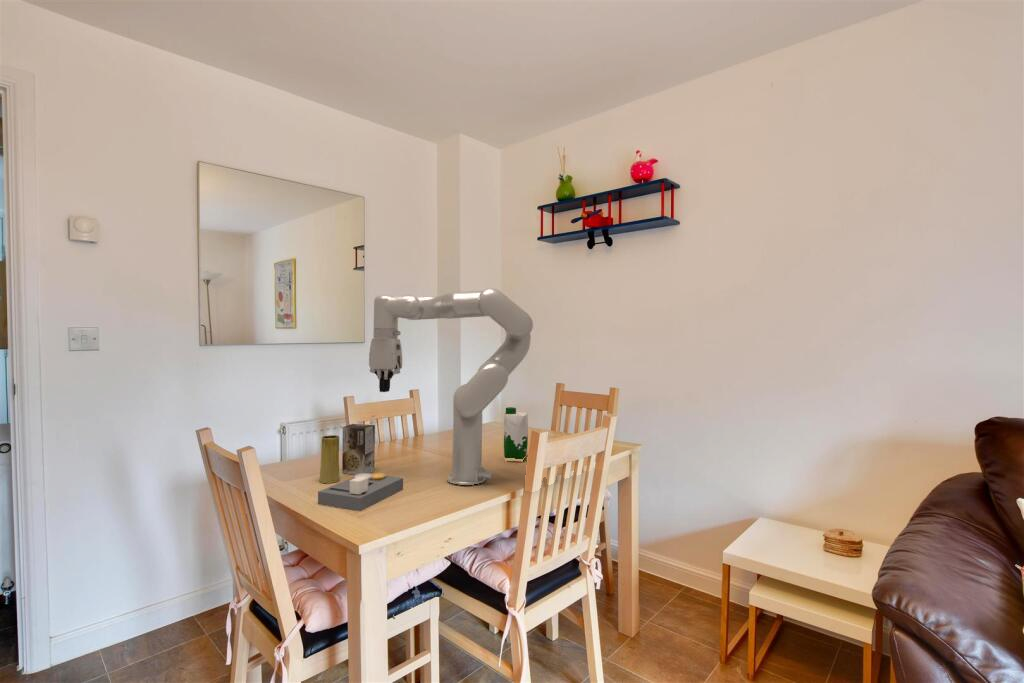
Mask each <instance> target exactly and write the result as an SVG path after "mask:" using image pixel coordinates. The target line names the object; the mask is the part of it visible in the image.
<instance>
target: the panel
mask: <svg viewBox="0 0 1024 683" xmlns="http://www.w3.org/2000/svg"><path fill="white" fill-rule="evenodd" d="M369 474H372V473H369ZM352 479H354V476H353V477H350V478H348V479H346V480H343V481H341V482H339V483H338V482H337V483H335V484H334V485H331V486H329V487H325V488H324V489H320V490H318V491H317V505H320V504H322V505H321V506H326V505H328V507H332V506H334V507H333V508H338V507H340V509H344V508H345V510H350V509H351V510H353V511H356V510H357V511H358V512H362V511H364V510H365V509H367V508H369V507H371V506H373V505H374V503H375V504H377V503H378V501H379V502H381V501H383V500H384V498H385V499H386V497H387V498H389V497H390V495H391V496H393V495H395V494H397V493H399V492H401V491H402V490H404V477H399V476H393V475H386V474H385V478H383V479H382V480H380V481H376V480H371V479H369V486H368V491H365V492H363V493H361V494H359V495H358V494H352V493H350V480H352ZM394 493H395V494H394ZM392 494H393V495H392ZM388 496H389V497H388ZM382 499H383V500H382ZM380 500H381V501H380ZM376 502H377V503H376Z"/></svg>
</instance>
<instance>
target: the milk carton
mask: <svg viewBox="0 0 1024 683" xmlns="http://www.w3.org/2000/svg"><path fill="white" fill-rule="evenodd" d="M503 417H504V419H503V420H504V421H503V428H504V429H503V457H505V458H515V459H523V458H524V457H525V456H526V457H527V452H528V445H529V444H528V443H529V442H528V438H529V433H528V432H529V419H528V417H529V416H528V412H521V411H517V407H512V406H510V407H506V408H505V413H504V416H503Z"/></svg>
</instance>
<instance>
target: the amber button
mask: <svg viewBox="0 0 1024 683" xmlns="http://www.w3.org/2000/svg"><path fill="white" fill-rule="evenodd" d="M371 475H372V476H371V480H376V481H380V480H382V479H383V478H385V475H386V473H384V472H372V473H371Z"/></svg>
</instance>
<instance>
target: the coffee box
mask: <svg viewBox="0 0 1024 683" xmlns="http://www.w3.org/2000/svg"><path fill="white" fill-rule="evenodd" d="M375 427H376V425H375V424H365V423H364V424H363V423H361V424H360V423H350V424H347V425H345V426H342V427H341V428H342V439H341V440H342V442H341V443H342V444H341V445H342V448H341V449H342V451H341V452H342V461H341V463H342V466H341V467H342V468H341V469H342V470H341V472H342V473H344V474H343V475H354V476H355V475H356V474H360V473H371V474H372V473H375V452H376V451H375V449H376V448H375V447H376V446H375V444H376V431H375V430H376V428H375ZM342 473H341V474H342Z"/></svg>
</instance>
